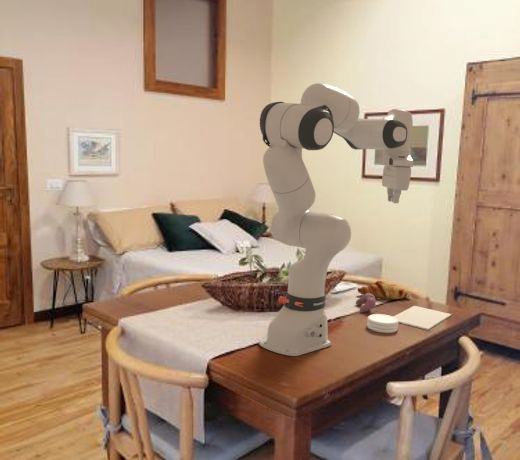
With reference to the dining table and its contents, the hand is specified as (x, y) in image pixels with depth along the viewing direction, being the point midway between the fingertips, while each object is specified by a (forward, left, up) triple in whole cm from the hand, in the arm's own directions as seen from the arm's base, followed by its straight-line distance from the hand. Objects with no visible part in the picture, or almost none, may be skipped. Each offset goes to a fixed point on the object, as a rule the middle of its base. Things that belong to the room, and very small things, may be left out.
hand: (393, 202), depth 171 cm
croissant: (+28, +13, -42) cm, 52 cm away
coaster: (-7, -3, -42) cm, 42 cm away
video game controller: (+8, +11, -41) cm, 44 cm away
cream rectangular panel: (+13, -8, -41) cm, 44 cm away
